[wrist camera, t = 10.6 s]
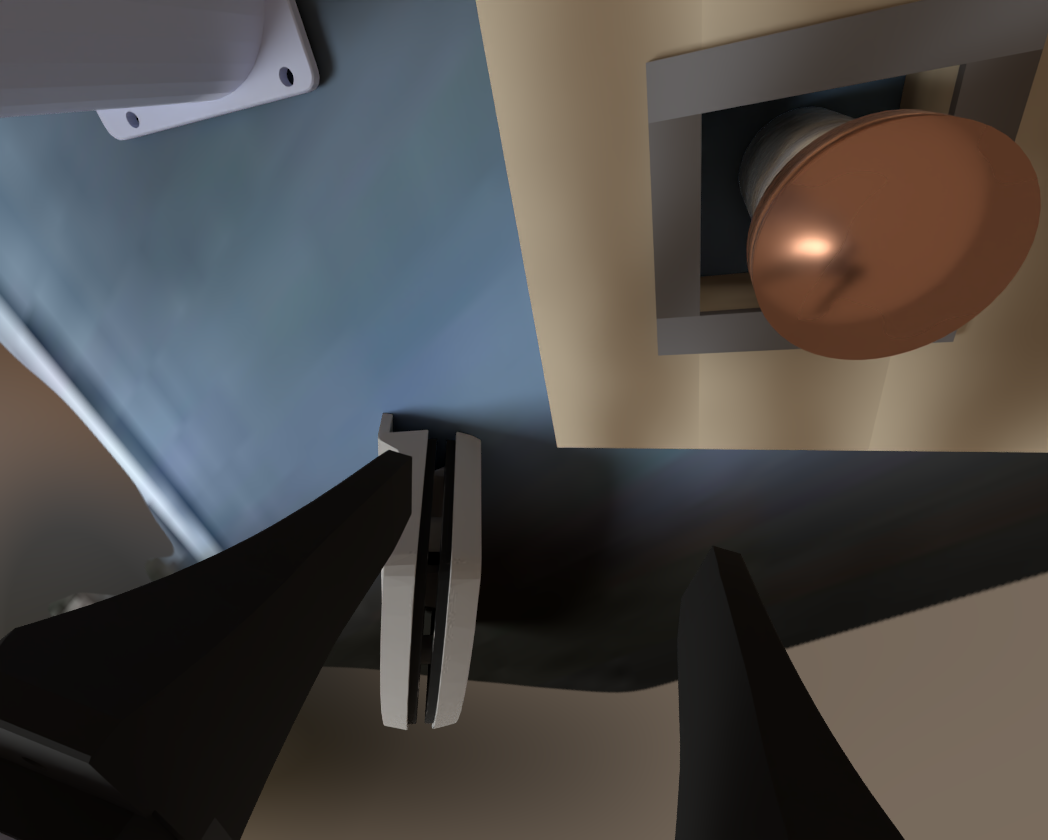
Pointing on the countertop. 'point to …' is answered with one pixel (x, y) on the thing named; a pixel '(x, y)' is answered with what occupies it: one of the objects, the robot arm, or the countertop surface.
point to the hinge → (431, 580)
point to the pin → (882, 226)
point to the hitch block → (675, 220)
